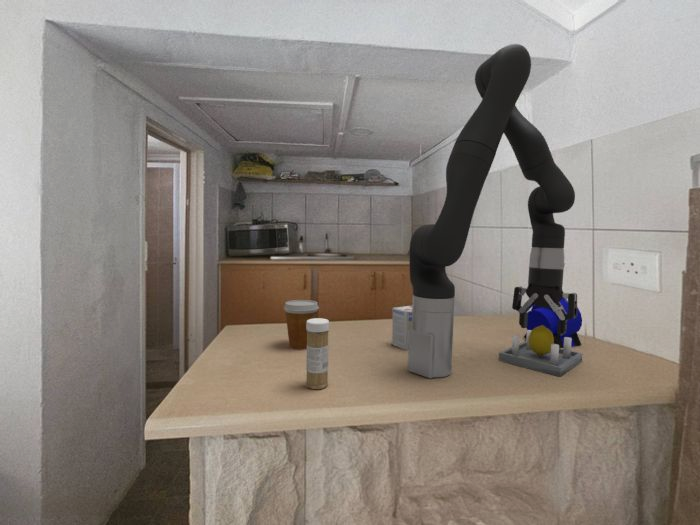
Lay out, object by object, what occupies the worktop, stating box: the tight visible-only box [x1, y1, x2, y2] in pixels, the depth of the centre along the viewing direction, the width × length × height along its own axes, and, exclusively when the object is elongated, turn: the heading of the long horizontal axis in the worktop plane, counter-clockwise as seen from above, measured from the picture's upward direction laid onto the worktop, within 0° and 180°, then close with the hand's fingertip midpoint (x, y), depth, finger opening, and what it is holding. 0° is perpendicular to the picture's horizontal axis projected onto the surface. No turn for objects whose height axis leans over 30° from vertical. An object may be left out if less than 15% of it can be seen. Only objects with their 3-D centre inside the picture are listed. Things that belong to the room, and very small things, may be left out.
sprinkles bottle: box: [305, 317, 330, 390], centre depth 73 cm, size 5×5×13 cm
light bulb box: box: [391, 305, 412, 351], centre depth 103 cm, size 11×7×11 cm, turn 123°
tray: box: [498, 329, 583, 378], centre depth 91 cm, size 16×14×6 cm
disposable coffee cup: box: [283, 299, 320, 350], centre depth 100 cm, size 10×10×12 cm
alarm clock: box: [523, 291, 583, 349], centre depth 109 cm, size 12×12×15 cm
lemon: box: [529, 325, 554, 357], centre depth 91 cm, size 6×6×8 cm
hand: (541, 331), depth 91 cm, fingers open, 8 cm apart
